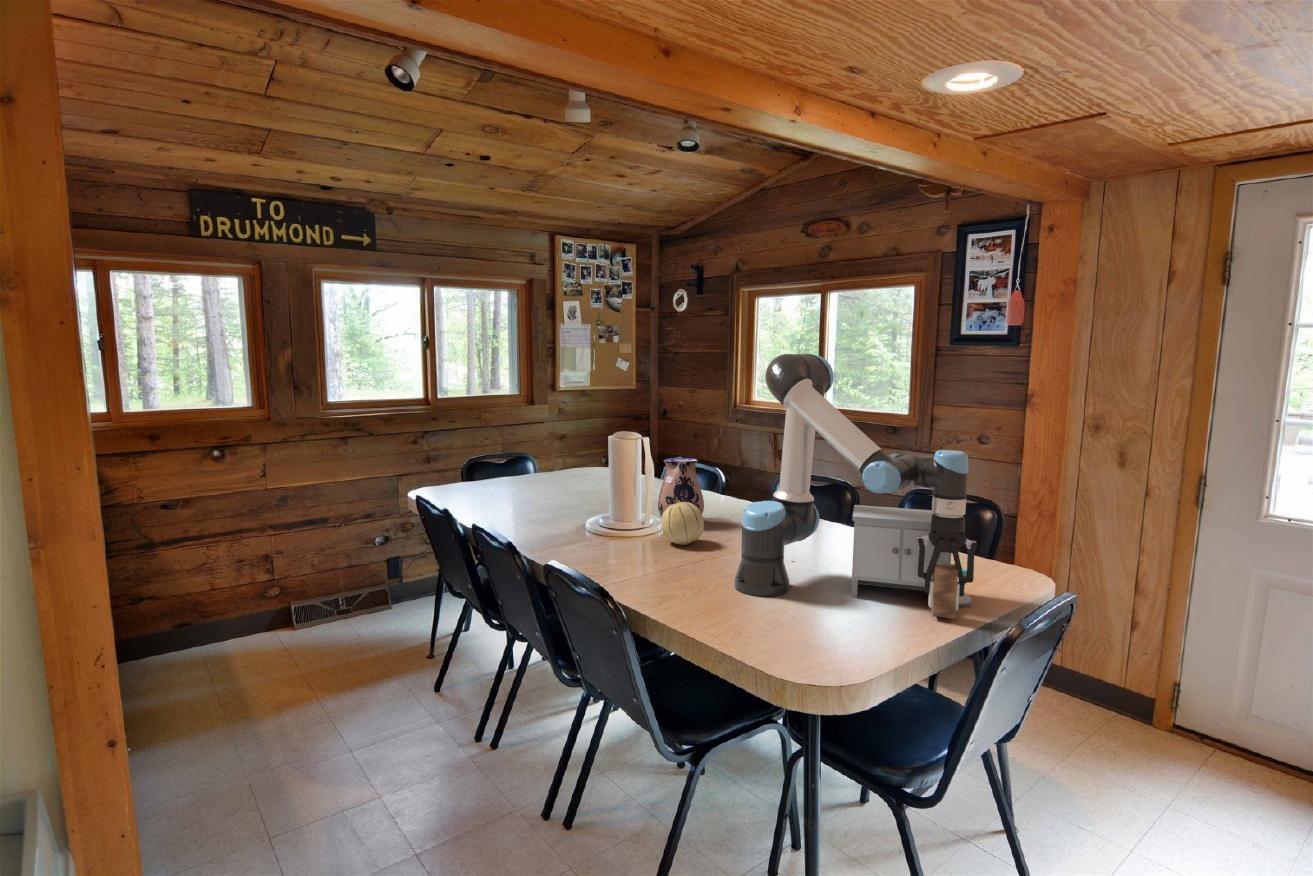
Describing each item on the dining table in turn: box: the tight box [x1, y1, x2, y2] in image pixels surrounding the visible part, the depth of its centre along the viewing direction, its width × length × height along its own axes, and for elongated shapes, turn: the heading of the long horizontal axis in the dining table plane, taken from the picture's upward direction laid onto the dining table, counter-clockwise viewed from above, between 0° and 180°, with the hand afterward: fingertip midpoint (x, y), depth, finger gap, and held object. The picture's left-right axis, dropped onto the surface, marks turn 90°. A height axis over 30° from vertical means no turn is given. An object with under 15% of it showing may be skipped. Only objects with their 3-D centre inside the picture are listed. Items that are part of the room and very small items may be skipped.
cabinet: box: [850, 504, 952, 599], centre depth 184 cm, size 25×16×22 cm, turn 72°
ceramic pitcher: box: [657, 456, 705, 518], centre depth 262 cm, size 18×21×25 cm
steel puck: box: [958, 592, 972, 608], centre depth 180 cm, size 7×7×2 cm
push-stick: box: [930, 563, 959, 620], centre depth 175 cm, size 5×20×12 cm, turn 164°
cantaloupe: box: [660, 500, 705, 546], centre depth 234 cm, size 15×15×15 cm
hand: (943, 606), depth 168 cm, fingers closed on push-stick, 5 cm apart
